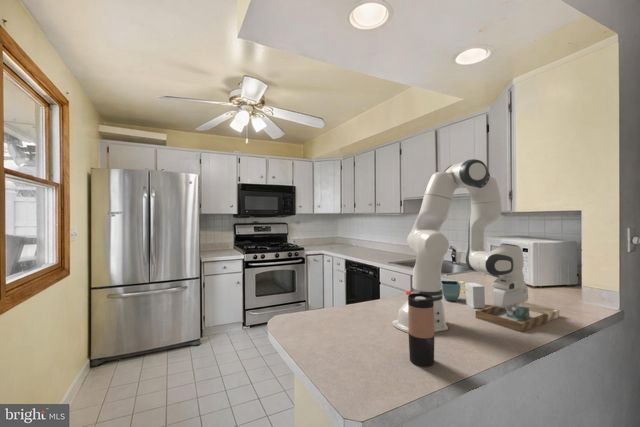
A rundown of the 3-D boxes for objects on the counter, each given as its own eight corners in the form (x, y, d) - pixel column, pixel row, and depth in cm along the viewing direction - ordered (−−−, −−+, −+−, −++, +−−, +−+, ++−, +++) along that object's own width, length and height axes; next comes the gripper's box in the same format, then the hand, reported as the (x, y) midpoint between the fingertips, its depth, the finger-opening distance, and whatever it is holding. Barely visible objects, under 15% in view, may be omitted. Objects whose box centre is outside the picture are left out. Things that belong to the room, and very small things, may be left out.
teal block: (520, 320, 122) (520, 310, 122) (506, 316, 128) (506, 306, 128) (529, 318, 125) (529, 307, 125) (515, 314, 130) (514, 304, 130)
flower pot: (442, 301, 150) (442, 284, 150) (440, 296, 159) (440, 280, 159) (461, 302, 148) (460, 285, 148) (458, 297, 156) (457, 281, 156)
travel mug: (428, 354, 94) (427, 293, 94) (439, 367, 87) (438, 299, 87) (405, 355, 94) (404, 293, 94) (413, 367, 86) (412, 300, 86)
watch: (457, 291, 170) (456, 281, 170) (460, 291, 171) (460, 280, 171) (465, 293, 164) (464, 282, 165) (469, 292, 165) (468, 282, 166)
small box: (485, 308, 138) (484, 286, 138) (473, 308, 138) (473, 286, 139) (476, 303, 146) (476, 282, 146) (465, 303, 146) (464, 282, 147)
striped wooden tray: (520, 332, 111) (520, 324, 111) (475, 317, 126) (475, 310, 126) (559, 317, 126) (559, 310, 126) (514, 305, 141) (514, 299, 141)
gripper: (516, 277, 132) (517, 308, 132) (489, 283, 122) (490, 316, 122) (532, 280, 126) (533, 312, 126) (505, 286, 116) (506, 321, 116)
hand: (511, 314), depth 124 cm, fingers closed
